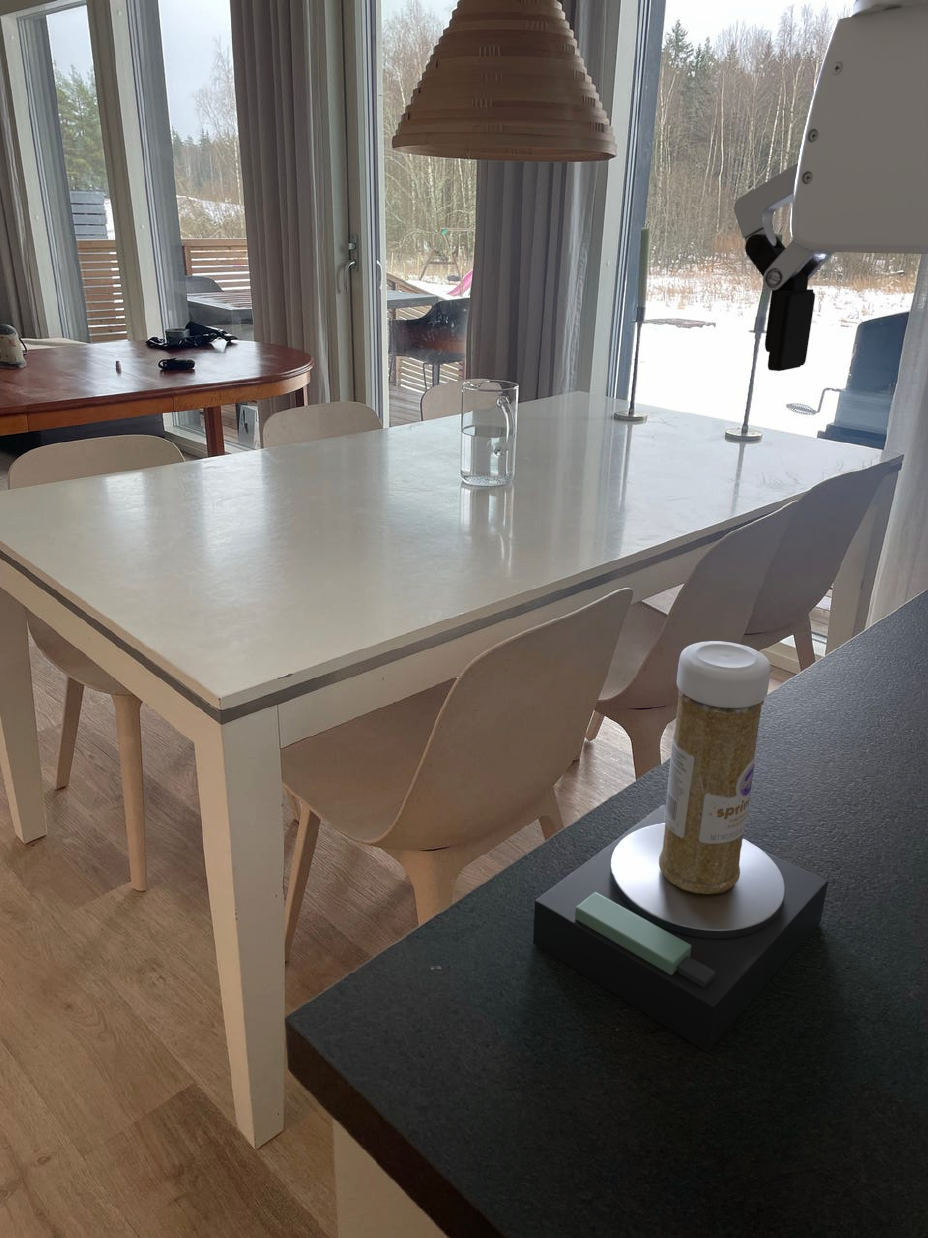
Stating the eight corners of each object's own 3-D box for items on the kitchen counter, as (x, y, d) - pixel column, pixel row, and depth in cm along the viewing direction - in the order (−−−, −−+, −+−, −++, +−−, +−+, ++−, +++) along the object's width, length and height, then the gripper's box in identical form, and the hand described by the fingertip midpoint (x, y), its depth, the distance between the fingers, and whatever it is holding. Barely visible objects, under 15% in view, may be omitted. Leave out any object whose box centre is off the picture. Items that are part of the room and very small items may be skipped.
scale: (658, 843, 61) (663, 793, 60) (820, 922, 54) (831, 868, 53) (532, 943, 52) (535, 888, 51) (707, 1053, 45) (715, 993, 44)
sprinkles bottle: (734, 906, 50) (768, 681, 45) (649, 885, 51) (672, 665, 46) (743, 857, 54) (775, 645, 49) (664, 839, 55) (687, 632, 50)
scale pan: (667, 811, 59) (668, 804, 59) (813, 879, 53) (814, 870, 53) (576, 881, 53) (577, 873, 52) (730, 967, 47) (732, 957, 46)
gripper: (1202, -42, 38) (1090, 389, 44) (795, 18, 49) (753, 356, 55) (1171, -86, 33) (1049, 408, 39) (724, -8, 43) (687, 368, 50)
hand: (876, 377), depth 47 cm, fingers open, 9 cm apart
